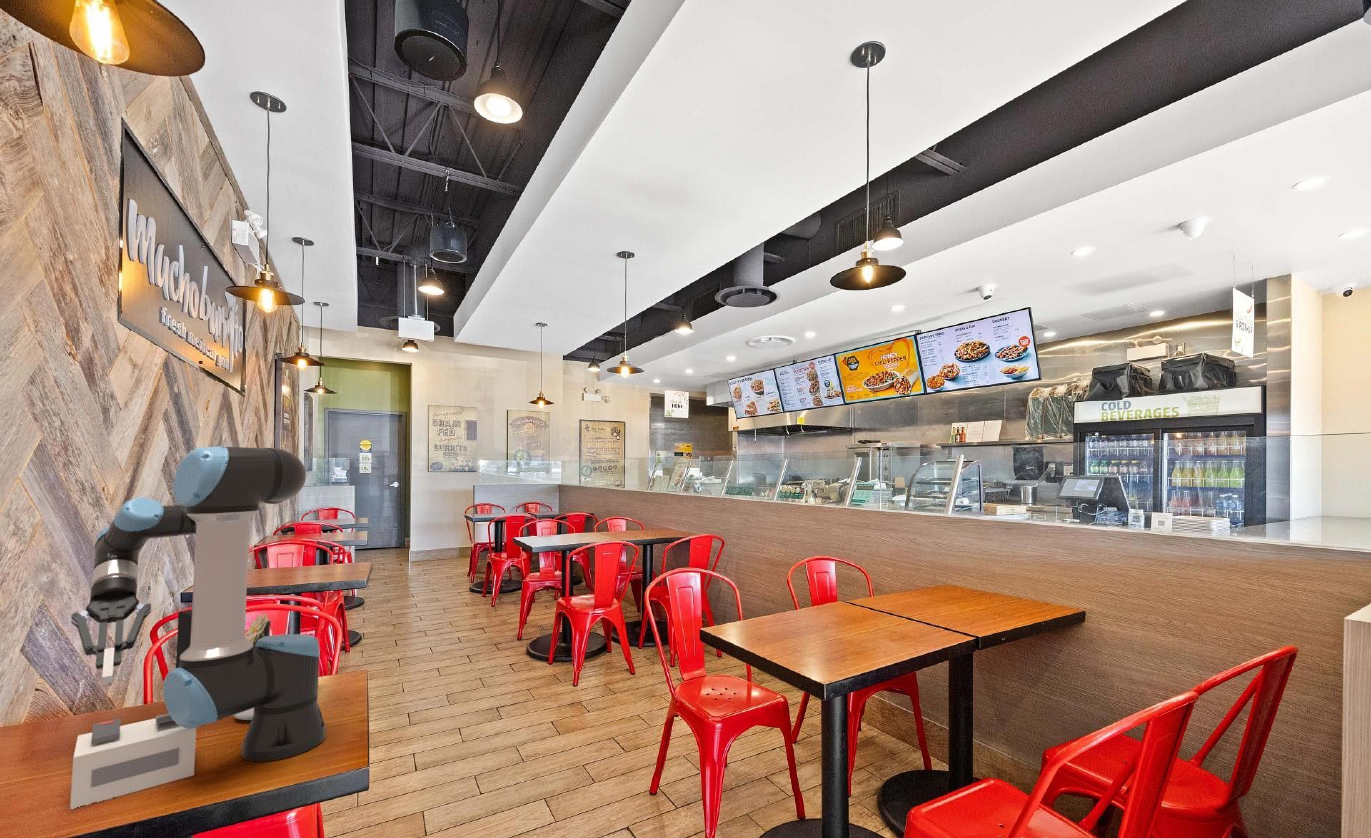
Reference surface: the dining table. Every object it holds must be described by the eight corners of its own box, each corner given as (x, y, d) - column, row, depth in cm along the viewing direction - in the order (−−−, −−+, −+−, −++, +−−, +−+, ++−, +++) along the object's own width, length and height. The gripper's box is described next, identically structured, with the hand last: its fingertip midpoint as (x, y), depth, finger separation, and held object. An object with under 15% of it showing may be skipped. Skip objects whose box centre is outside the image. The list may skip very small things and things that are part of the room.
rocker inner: (155, 721, 120) (155, 715, 120) (180, 715, 123) (180, 710, 123) (156, 723, 116) (156, 717, 116) (181, 718, 119) (182, 712, 119)
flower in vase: (237, 711, 148) (242, 608, 150) (292, 702, 153) (295, 603, 155) (226, 731, 136) (231, 620, 138) (285, 721, 142) (290, 614, 143)
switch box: (74, 784, 114) (78, 733, 115) (189, 754, 126) (191, 708, 126) (69, 810, 105) (73, 755, 106) (193, 775, 117) (196, 726, 117)
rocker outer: (93, 729, 114) (93, 723, 114) (120, 722, 117) (120, 717, 117) (91, 744, 110) (91, 739, 110) (119, 738, 113) (119, 732, 112)
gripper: (152, 591, 141) (149, 681, 127) (73, 600, 132) (61, 698, 118) (154, 571, 137) (151, 662, 124) (73, 579, 128) (60, 678, 115)
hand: (107, 679), depth 121 cm, fingers closed
